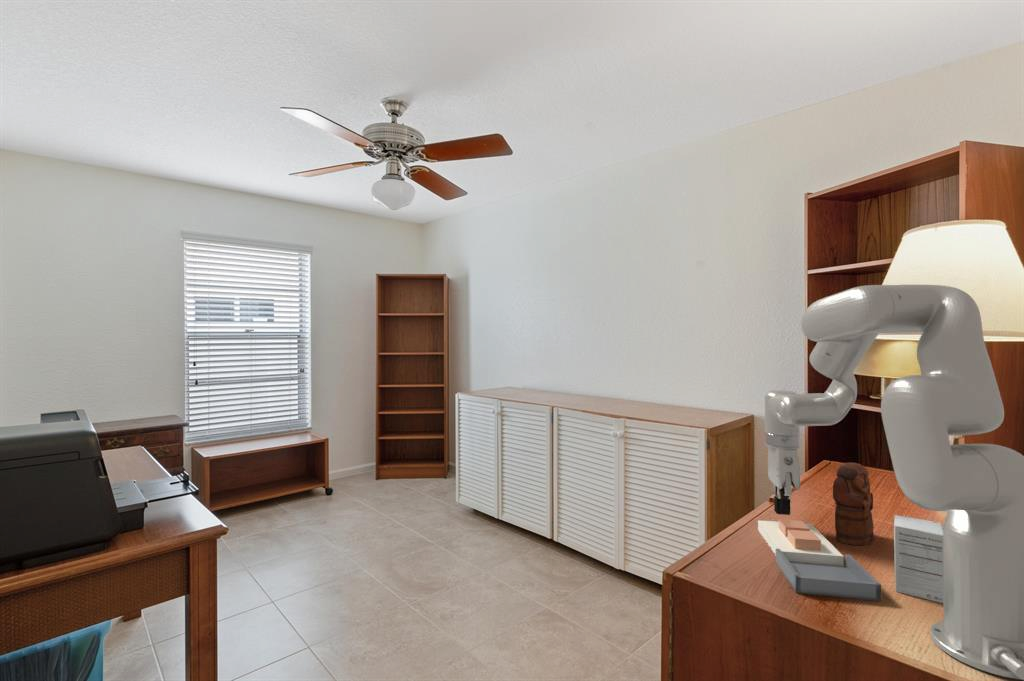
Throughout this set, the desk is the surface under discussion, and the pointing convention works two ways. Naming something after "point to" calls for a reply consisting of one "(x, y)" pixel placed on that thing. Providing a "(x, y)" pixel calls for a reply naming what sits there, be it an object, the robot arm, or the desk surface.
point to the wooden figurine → (853, 505)
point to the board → (779, 541)
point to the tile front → (804, 540)
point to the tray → (830, 579)
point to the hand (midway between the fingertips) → (782, 513)
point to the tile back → (791, 526)
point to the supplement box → (918, 557)
